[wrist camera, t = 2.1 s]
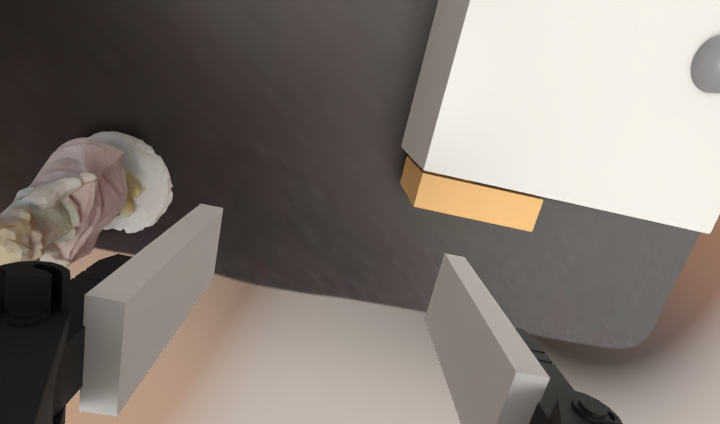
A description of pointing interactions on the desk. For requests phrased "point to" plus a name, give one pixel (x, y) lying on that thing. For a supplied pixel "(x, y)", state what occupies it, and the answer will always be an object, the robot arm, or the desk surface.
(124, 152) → the figurine
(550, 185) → the block
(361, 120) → the desk surface
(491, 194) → the side door
